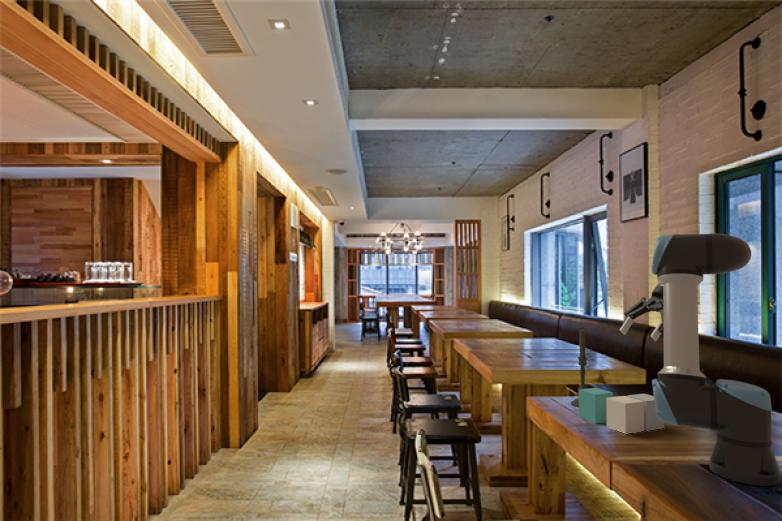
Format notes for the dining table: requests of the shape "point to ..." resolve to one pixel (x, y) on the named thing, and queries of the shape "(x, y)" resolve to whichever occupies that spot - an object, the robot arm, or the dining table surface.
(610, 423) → the cream block
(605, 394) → the teal block
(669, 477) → the dining table surface
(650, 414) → the grey block
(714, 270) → the robot arm
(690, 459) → the dining table surface
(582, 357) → the candlestick holder
